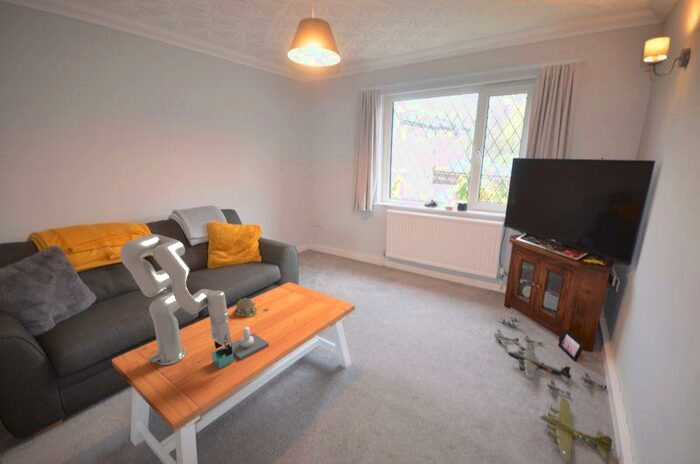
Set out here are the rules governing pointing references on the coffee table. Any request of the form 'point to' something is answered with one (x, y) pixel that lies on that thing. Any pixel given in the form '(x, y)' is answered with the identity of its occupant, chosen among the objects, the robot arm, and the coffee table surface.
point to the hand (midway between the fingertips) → (223, 351)
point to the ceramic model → (245, 308)
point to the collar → (221, 358)
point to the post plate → (248, 350)
